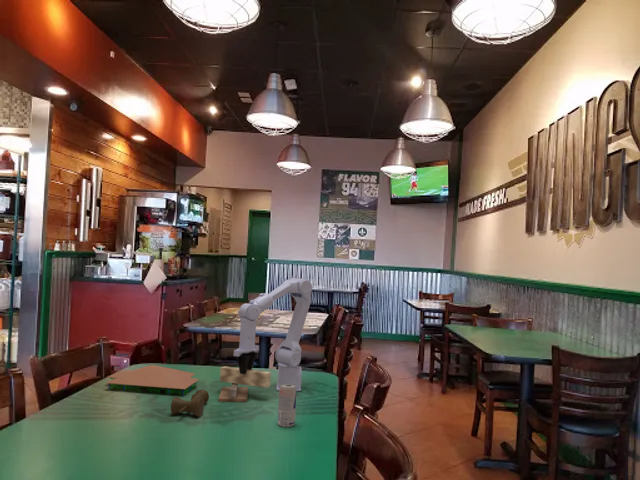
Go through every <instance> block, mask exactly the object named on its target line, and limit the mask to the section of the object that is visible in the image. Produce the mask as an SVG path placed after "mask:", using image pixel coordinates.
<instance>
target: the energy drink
mask: <svg viewBox="0 0 640 480" xmlns="http://www.w3.org/2000/svg"><path fill="white" fill-rule="evenodd" d="M296 390H297V388H296V385H294V384H281V385H280V388H279V391H278V394H279V395H278V407H277V408H278V410H277V424H278V426H280V427H284V428H290V427H293V426H295V424H296V410H297V409H296V405H297V391H296Z"/></svg>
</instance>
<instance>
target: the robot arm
mask: <svg viewBox="0 0 640 480" xmlns="http://www.w3.org/2000/svg"><path fill="white" fill-rule="evenodd" d="M313 288H314V287H313V285H312V283H311V280H309V279H308V278H297V277H289V278H288V279H286V280H284V282H283V283H282V284H280V285H278V287H276V288H275V289H274V290H272V291H270V292H269V293H266V292H264V293H262V292H261V293H260V294H258V296H257V297H256V298H254V299H250V300H249V302H248V303H242V305H240V307H239V310H238V311H237V314H238V316H239V319H240V320H239V321H240V328H239V329H240V330H239V332H240V333H239V345H238V348H237V349H234V350H233V357H234V358H235V359H236V361H237V364H238V368H239V370H240V374H246V371H247V369H250V370H253V366H254V363H255V361H256V359H257V358H258V356H259V353H258V351H260V345H257V344H256V330H257V320H258V319H259V318H260V315H261V314H262V313H263V312H265V311H266V310H268V309H269V308H271V307H272V306H273V304H274V301H276V300H278V299H280V298H282V297H284V296H285V295H287V294H289V295H290V296H292V298H294V300H295V303H296V304H295V306H294V310H293V314H292V317H291V320H290V323H289V327H288V331H287V333H286V335H285V337H286V338H285V339H284V340H283V341H282V342H281V343H280V344H279V347H278V349H276V351H275V353H274V354H275V356H274V358H275V361H276V362H277V365H278V370H277V384H276V385H275V386H276V389H275V390H276V391H278V392H279V388H280V385H281V384H294V385H296V388H297V390H296V392H301V390H302V383H303V382H302V375H303V374H302V372H303V371H302V366H300V363H301V360H302V351H303V350H302V347H301V346H300V340H301V337H302V333H303V329H304V325H305V324H306V323H305V322H306V320H307V316H308V313H309V308H310V305H311V302H312V299H311V297H312V291H313Z"/></svg>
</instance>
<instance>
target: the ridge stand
mask: <svg viewBox="0 0 640 480" xmlns="http://www.w3.org/2000/svg"><path fill="white" fill-rule="evenodd" d="M248 394H249V387H248V386H246V387H245V386H239V384H236V383H231V385H230V386H221V389H220V393H219V396H218V399H217V400H218V401H217V402H220V403H221V402H223V403H224V402H226V403H233V402H234V403H247V402H248V396H249V395H248Z"/></svg>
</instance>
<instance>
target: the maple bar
mask: <svg viewBox="0 0 640 480" xmlns="http://www.w3.org/2000/svg"><path fill="white" fill-rule="evenodd" d="M219 372H220V375H219V378H220V379H219V381H220V382H224V383H229V384H230V383H231V384H232V383H236V384H238V385H245V386H250V387H251V386H252V387H258V388H264V389H266V388H269V387H271V378H272V377H271V376H272V372H271V371H266V370H265V371H264V370H257V369H252V370H250V369H247V371H246V374H240V370H239V367H232V366H221V367H220V371H219Z"/></svg>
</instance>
